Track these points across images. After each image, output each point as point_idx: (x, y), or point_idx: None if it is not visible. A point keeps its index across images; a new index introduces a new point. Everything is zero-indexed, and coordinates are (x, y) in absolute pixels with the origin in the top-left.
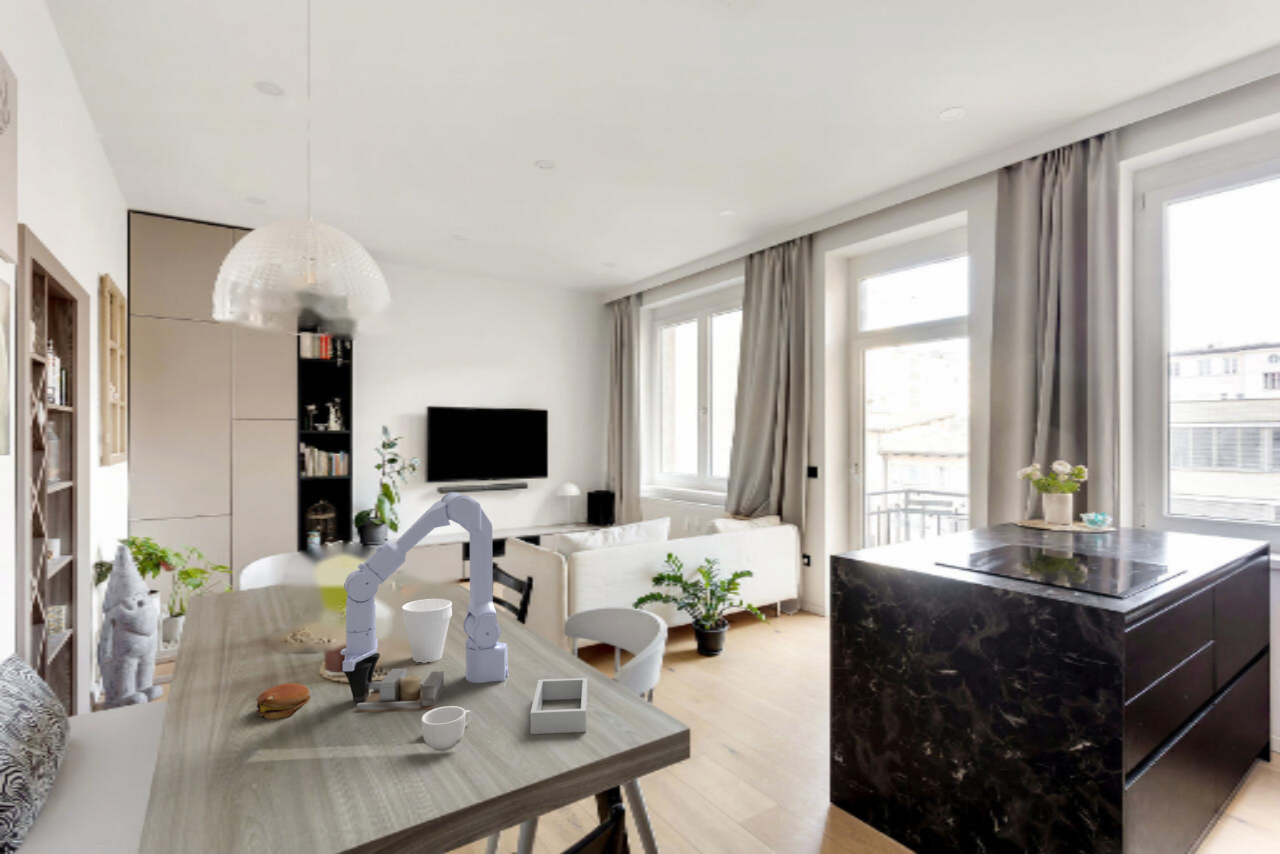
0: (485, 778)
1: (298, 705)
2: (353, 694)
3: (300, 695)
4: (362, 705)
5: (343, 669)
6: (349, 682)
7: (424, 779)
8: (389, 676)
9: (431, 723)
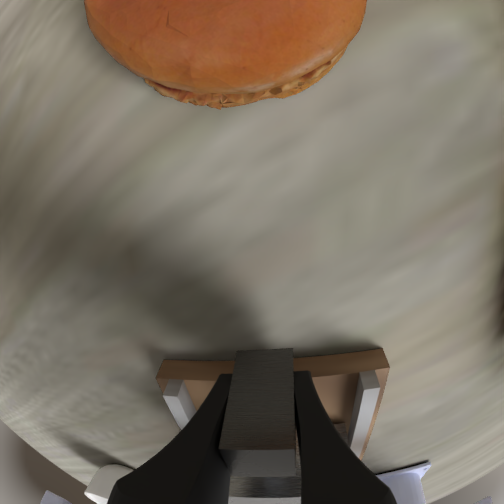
0: (89, 479)
1: (171, 89)
2: (216, 384)
3: (180, 76)
4: (170, 405)
5: (44, 498)
6: (183, 429)
7: (56, 448)
8: (263, 502)
9: (87, 495)
